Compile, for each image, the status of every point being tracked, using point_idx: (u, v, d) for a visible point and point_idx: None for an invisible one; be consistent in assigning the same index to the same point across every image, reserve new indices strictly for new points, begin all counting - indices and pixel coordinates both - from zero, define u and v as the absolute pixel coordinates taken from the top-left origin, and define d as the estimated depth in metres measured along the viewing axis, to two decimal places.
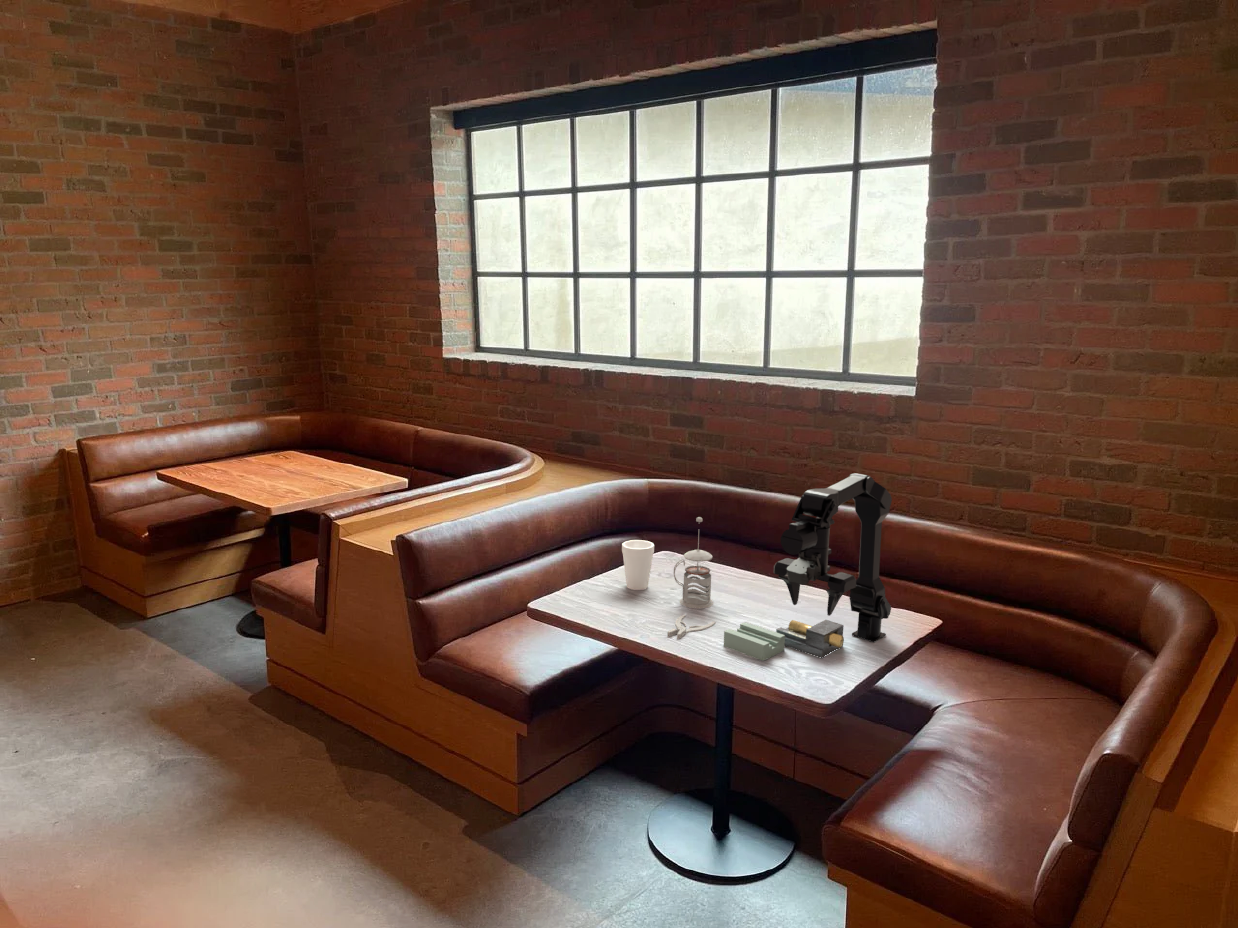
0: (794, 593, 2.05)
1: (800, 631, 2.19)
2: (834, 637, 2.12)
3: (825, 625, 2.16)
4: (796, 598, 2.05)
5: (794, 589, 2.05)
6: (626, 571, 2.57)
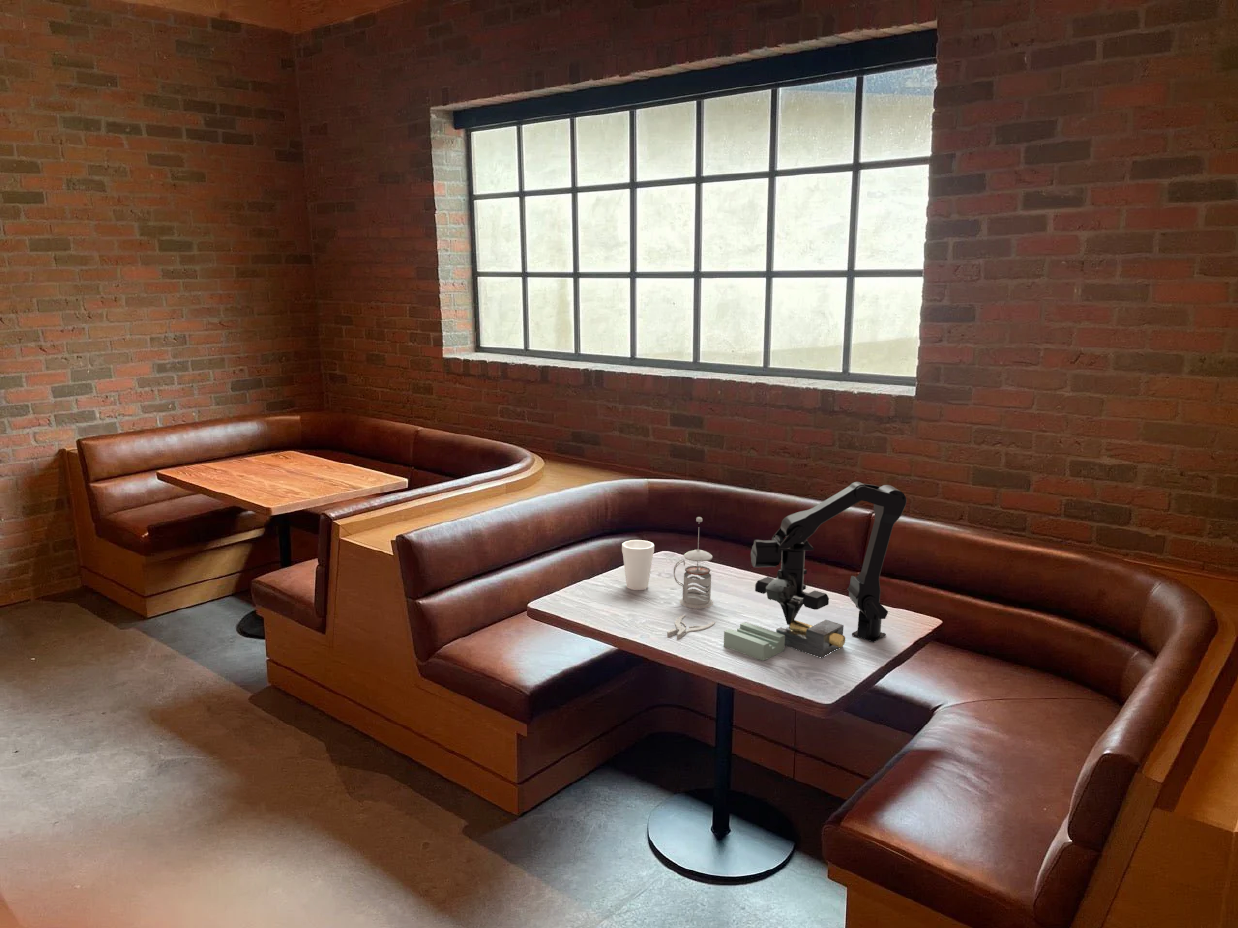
0: None
1: (802, 630, 2.19)
2: (836, 636, 2.13)
3: (825, 625, 2.16)
4: None
5: (788, 610, 2.22)
6: (626, 571, 2.57)
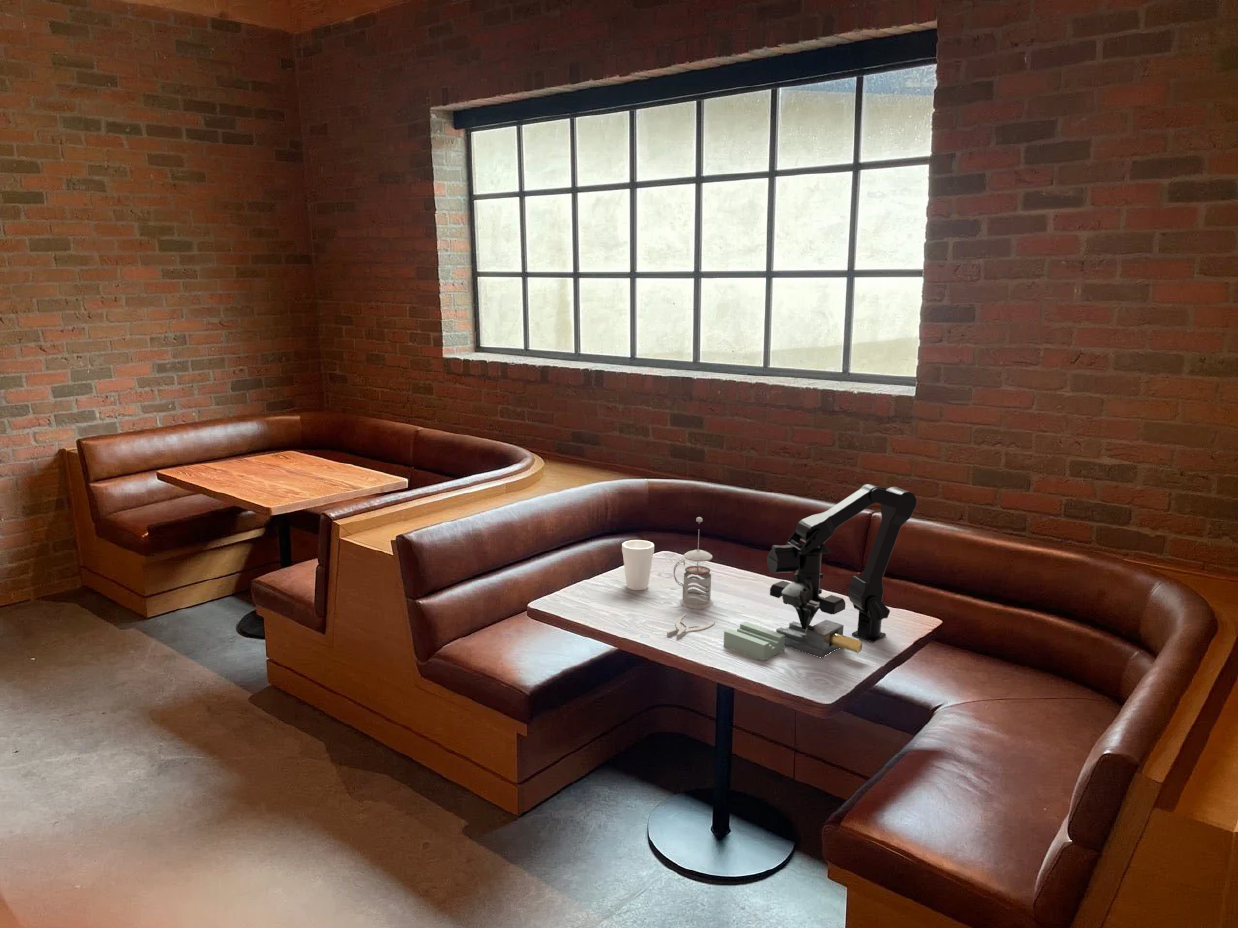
0: (803, 618, 2.19)
1: None
2: (853, 641, 2.09)
3: (825, 625, 2.16)
4: None
5: (803, 614, 2.19)
6: (626, 571, 2.57)
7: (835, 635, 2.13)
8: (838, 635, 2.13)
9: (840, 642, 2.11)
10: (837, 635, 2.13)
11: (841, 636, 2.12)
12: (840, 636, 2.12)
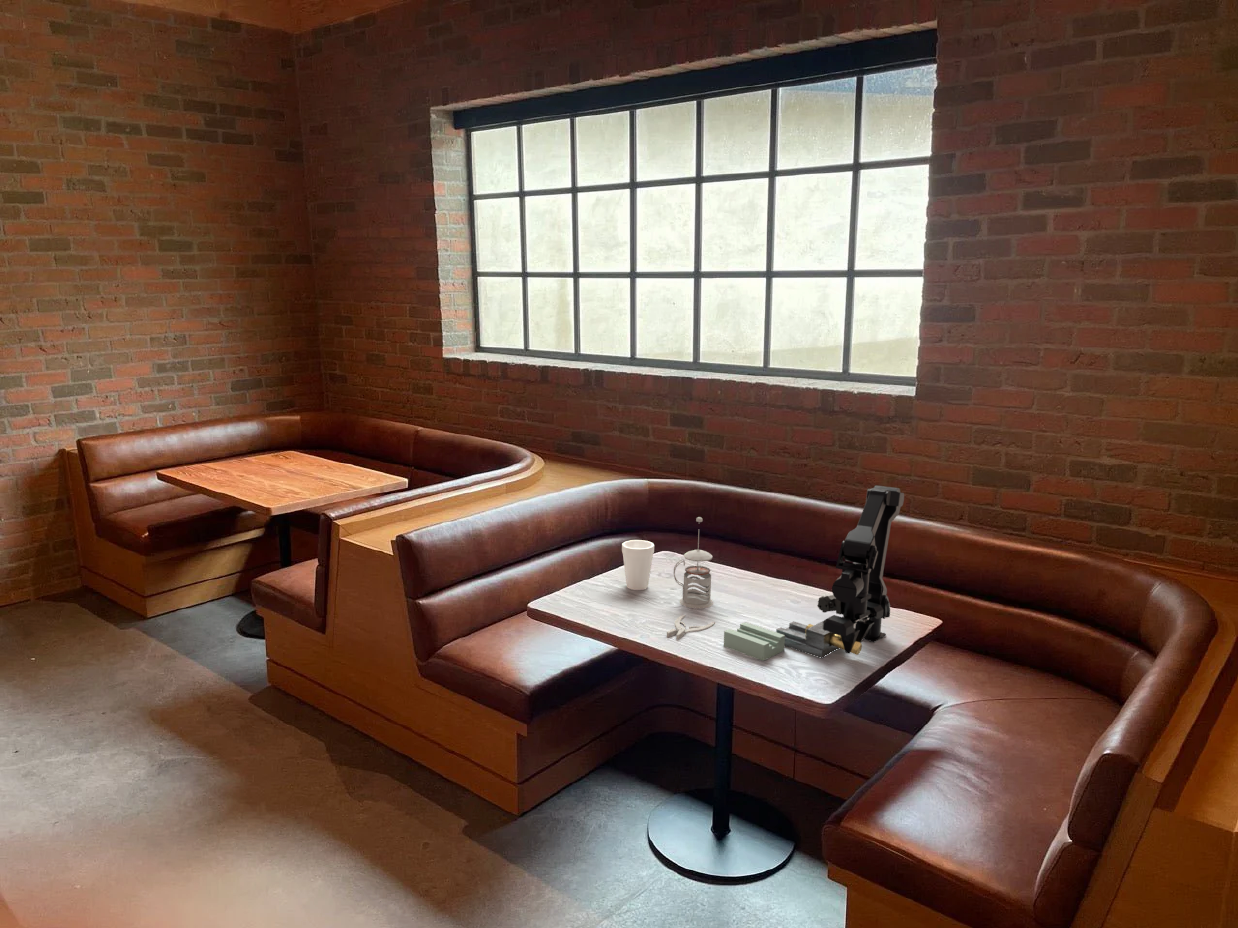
0: None
1: None
2: None
3: None
4: None
5: None
6: (626, 571, 2.57)
7: (835, 636, 2.13)
8: (838, 636, 2.12)
9: (839, 643, 2.11)
10: (837, 636, 2.12)
11: (840, 637, 2.12)
12: (839, 637, 2.12)
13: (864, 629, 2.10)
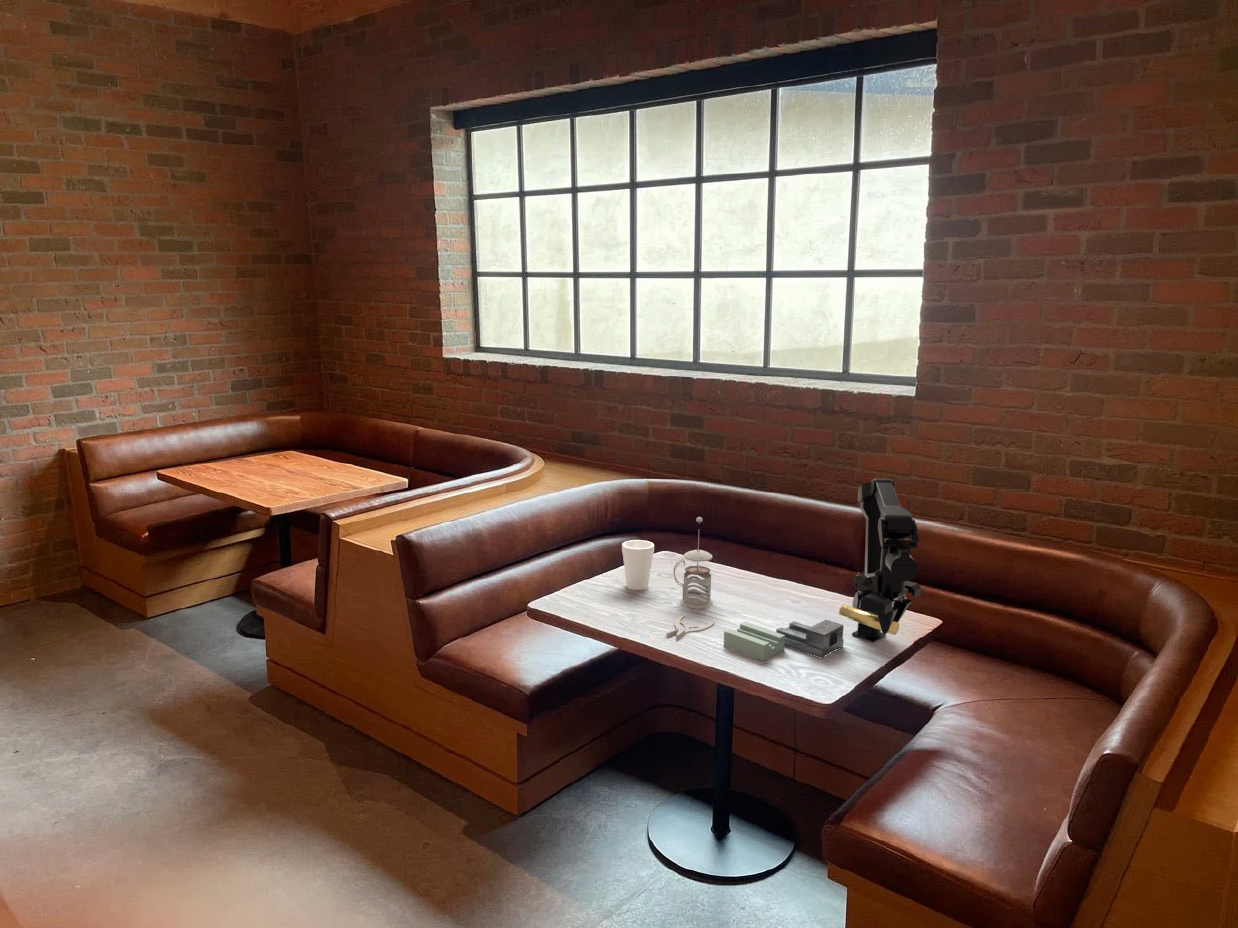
0: None
1: (852, 616, 2.08)
2: None
3: (825, 625, 2.16)
4: None
5: None
6: (626, 571, 2.57)
7: (870, 616, 2.05)
8: (874, 616, 2.05)
9: (875, 623, 2.03)
10: (873, 616, 2.05)
11: (877, 617, 2.04)
12: (876, 617, 2.04)
13: (902, 608, 2.02)
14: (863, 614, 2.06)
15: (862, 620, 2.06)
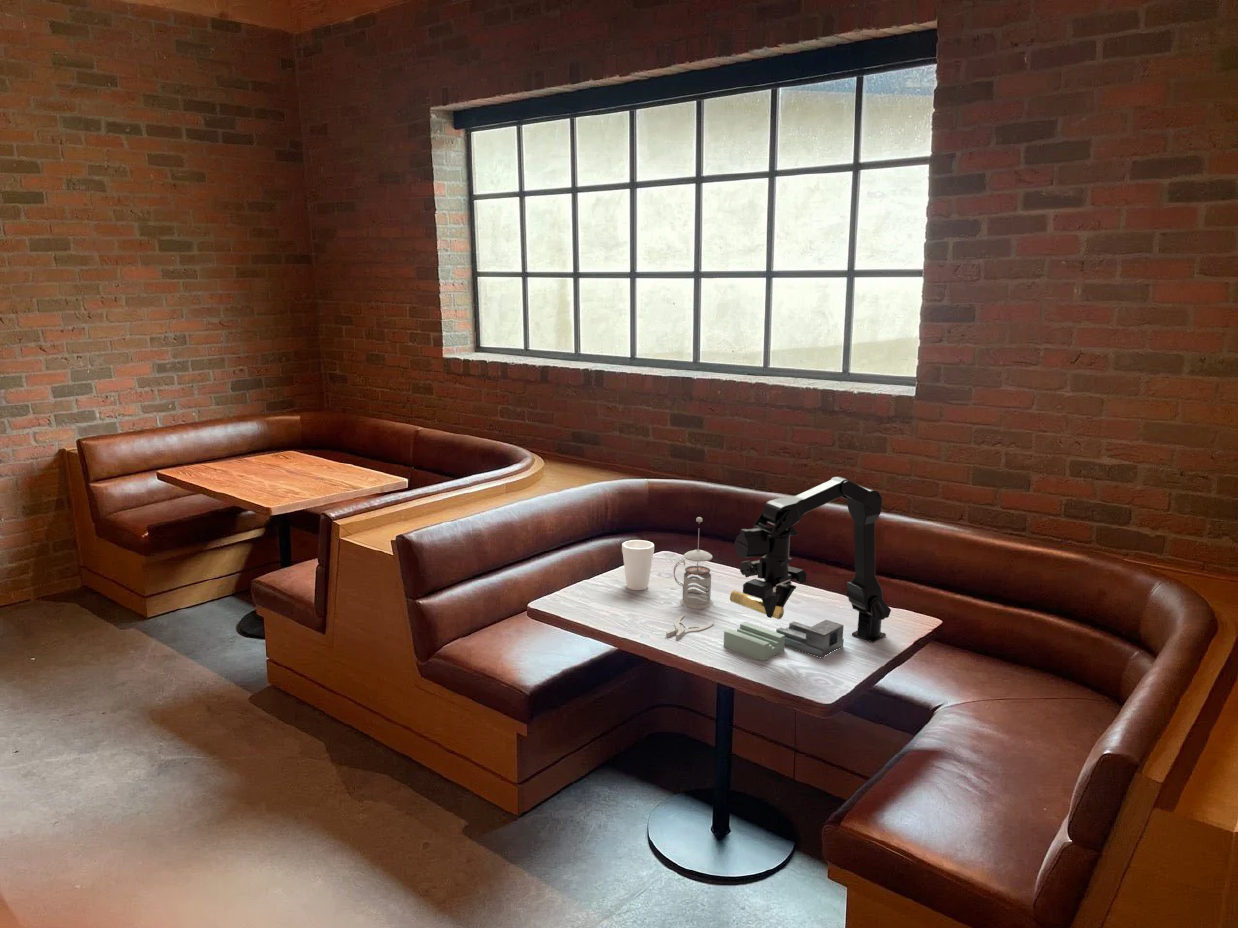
0: None
1: (741, 601, 2.15)
2: None
3: (825, 625, 2.16)
4: None
5: None
6: (626, 571, 2.57)
7: (757, 601, 2.13)
8: (760, 601, 2.12)
9: (762, 608, 2.11)
10: (759, 601, 2.12)
11: None
12: (762, 602, 2.12)
13: (786, 593, 2.10)
14: (751, 599, 2.14)
15: (750, 605, 2.13)
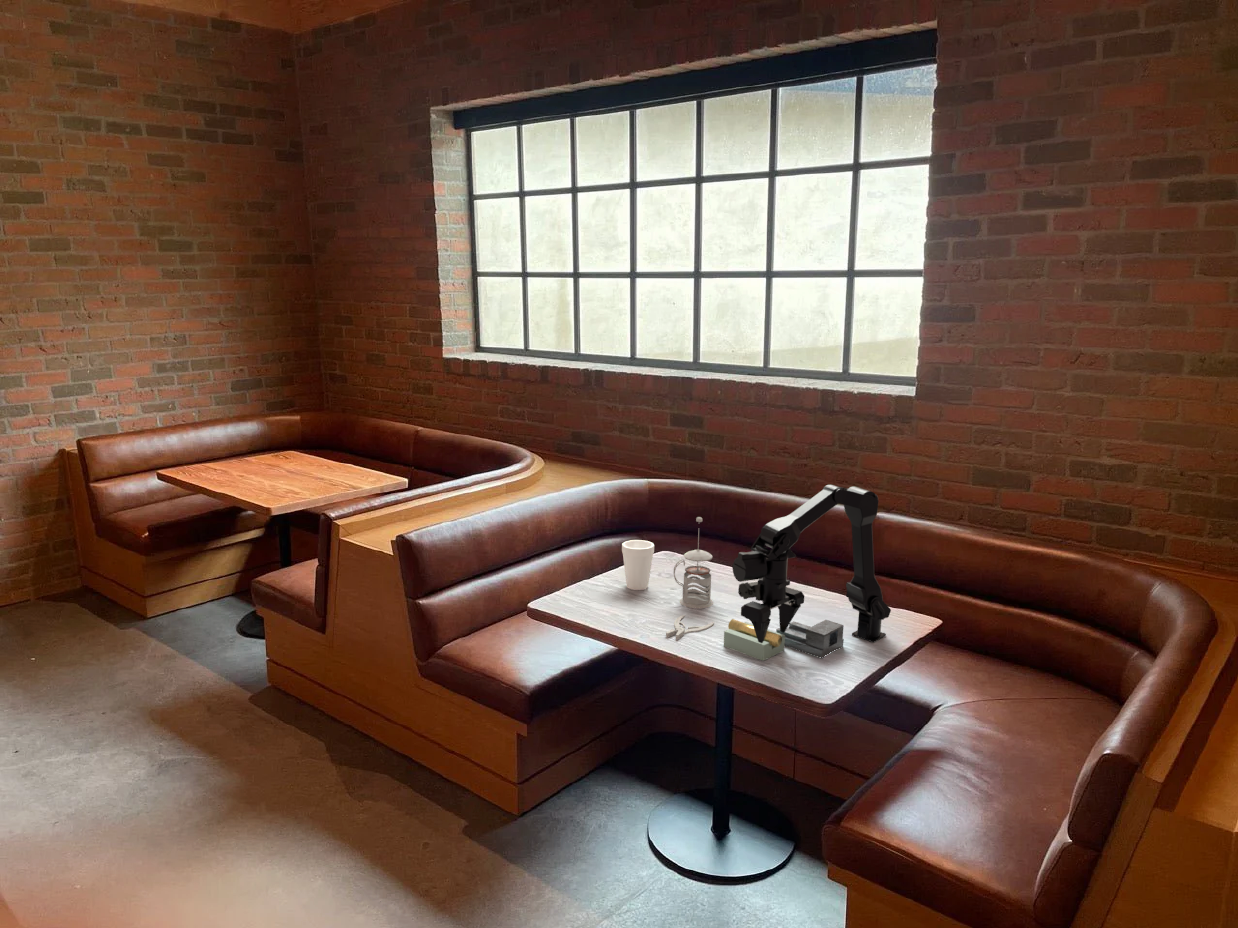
0: (780, 620, 2.15)
1: (739, 630, 2.17)
2: (771, 636, 2.11)
3: (825, 625, 2.16)
4: (782, 626, 2.15)
5: (781, 616, 2.15)
6: (626, 571, 2.57)
7: None
8: None
9: None
10: None
11: None
12: None
13: (791, 612, 2.13)
14: (749, 628, 2.15)
15: (748, 634, 2.15)
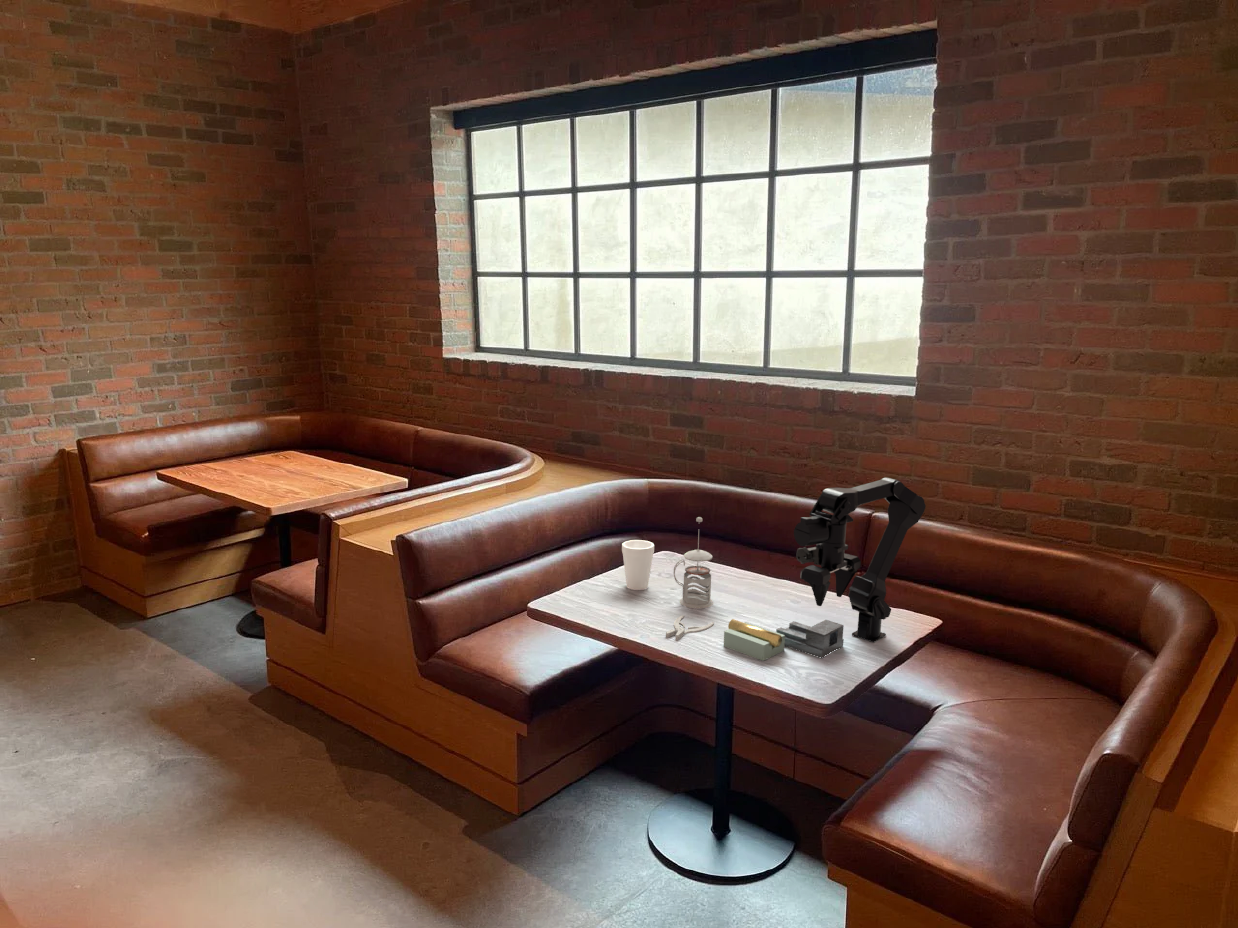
0: (837, 585, 2.19)
1: (739, 631, 2.17)
2: (771, 637, 2.11)
3: (825, 625, 2.16)
4: (839, 591, 2.18)
5: (838, 581, 2.19)
6: (626, 571, 2.57)
7: (755, 630, 2.14)
8: (758, 630, 2.14)
9: (759, 637, 2.13)
10: (757, 630, 2.14)
11: (761, 631, 2.13)
12: (760, 631, 2.13)
13: (848, 577, 2.17)
14: (748, 629, 2.15)
15: (748, 634, 2.15)
